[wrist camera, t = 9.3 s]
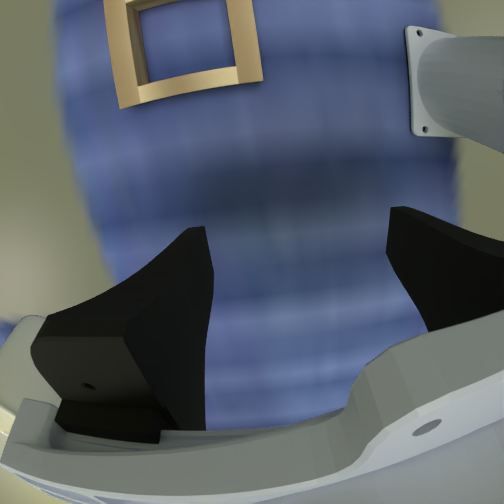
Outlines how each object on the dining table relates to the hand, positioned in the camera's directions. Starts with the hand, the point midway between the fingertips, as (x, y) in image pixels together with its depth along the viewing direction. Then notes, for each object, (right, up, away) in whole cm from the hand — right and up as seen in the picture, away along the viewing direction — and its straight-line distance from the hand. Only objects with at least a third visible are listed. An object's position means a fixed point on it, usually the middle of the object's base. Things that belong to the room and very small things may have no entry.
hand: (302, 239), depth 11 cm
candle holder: (-25, -10, +16) cm, 31 cm away
